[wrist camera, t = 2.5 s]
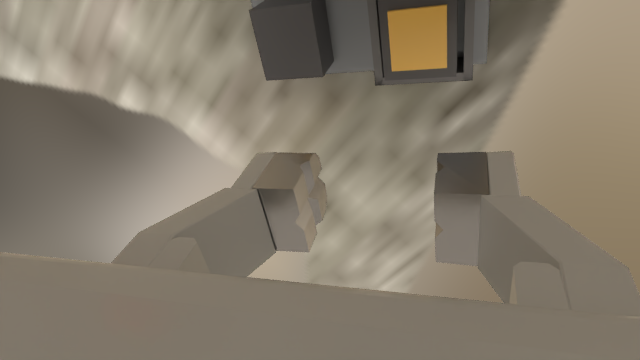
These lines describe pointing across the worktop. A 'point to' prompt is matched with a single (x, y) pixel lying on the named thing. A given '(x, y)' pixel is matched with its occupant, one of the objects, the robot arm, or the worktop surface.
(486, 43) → the panel
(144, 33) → the worktop surface
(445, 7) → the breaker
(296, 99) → the worktop surface
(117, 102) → the worktop surface
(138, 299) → the robot arm
